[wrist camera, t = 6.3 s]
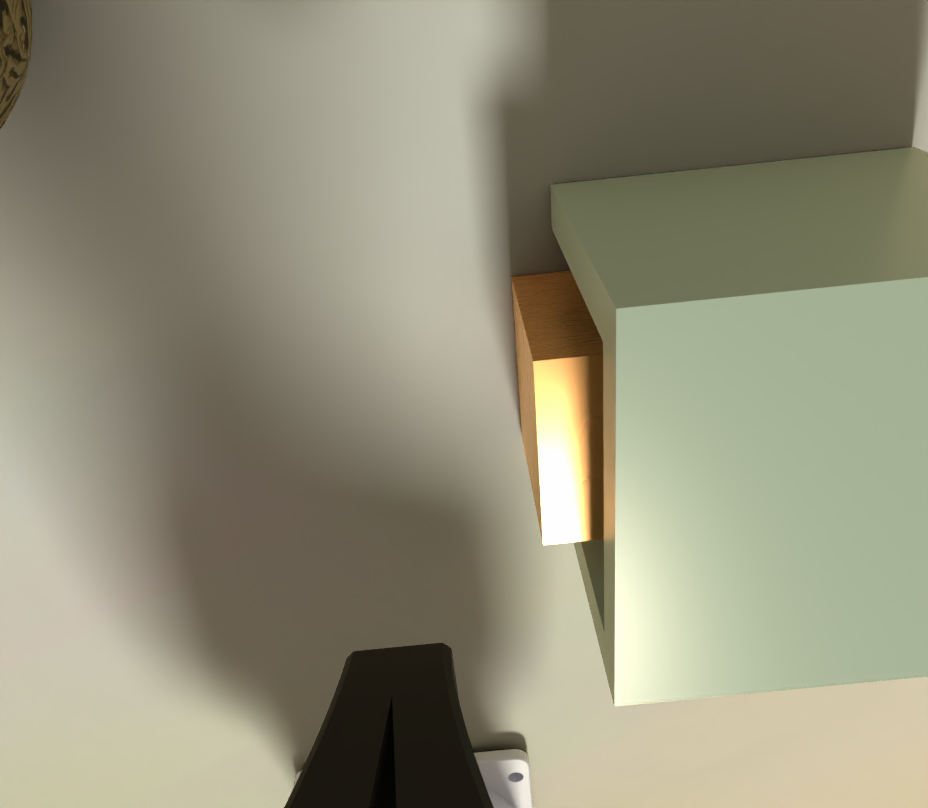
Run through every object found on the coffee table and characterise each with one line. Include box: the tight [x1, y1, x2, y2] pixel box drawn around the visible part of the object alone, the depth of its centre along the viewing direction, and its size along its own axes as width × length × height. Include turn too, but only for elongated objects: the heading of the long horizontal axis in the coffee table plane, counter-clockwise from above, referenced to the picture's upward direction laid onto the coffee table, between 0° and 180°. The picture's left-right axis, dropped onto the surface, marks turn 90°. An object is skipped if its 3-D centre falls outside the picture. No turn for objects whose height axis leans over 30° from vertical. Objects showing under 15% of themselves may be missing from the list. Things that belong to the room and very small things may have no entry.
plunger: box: [511, 271, 604, 545], centre depth 17 cm, size 4×14×4 cm, turn 95°
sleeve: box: [550, 147, 928, 706], centre depth 16 cm, size 8×8×7 cm
